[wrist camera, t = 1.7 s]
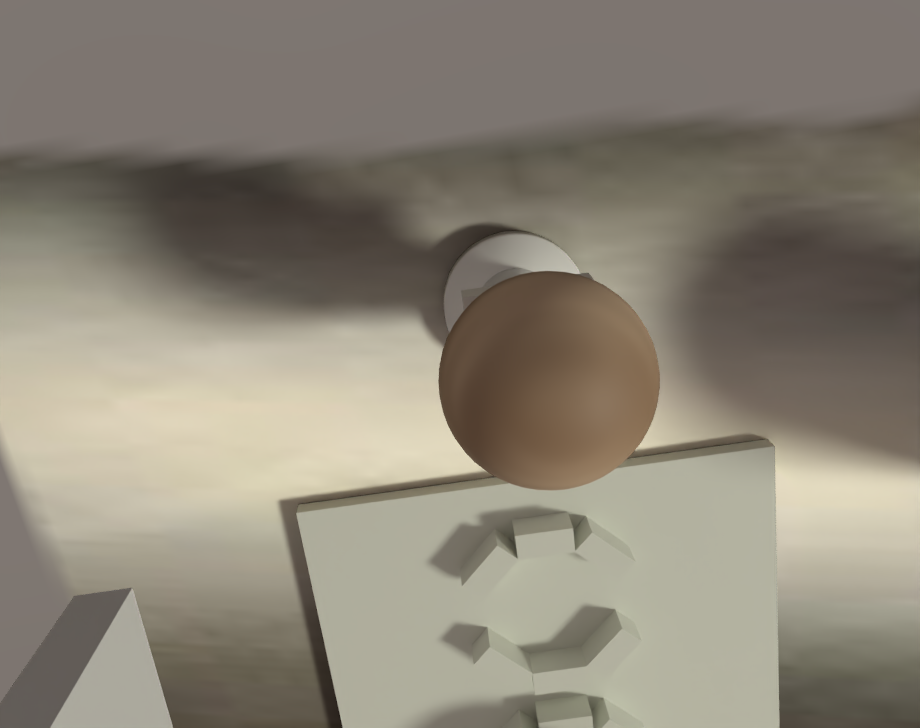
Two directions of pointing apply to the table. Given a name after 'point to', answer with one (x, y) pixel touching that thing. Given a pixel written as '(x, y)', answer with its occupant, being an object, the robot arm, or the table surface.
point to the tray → (556, 598)
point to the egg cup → (500, 267)
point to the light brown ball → (549, 380)
